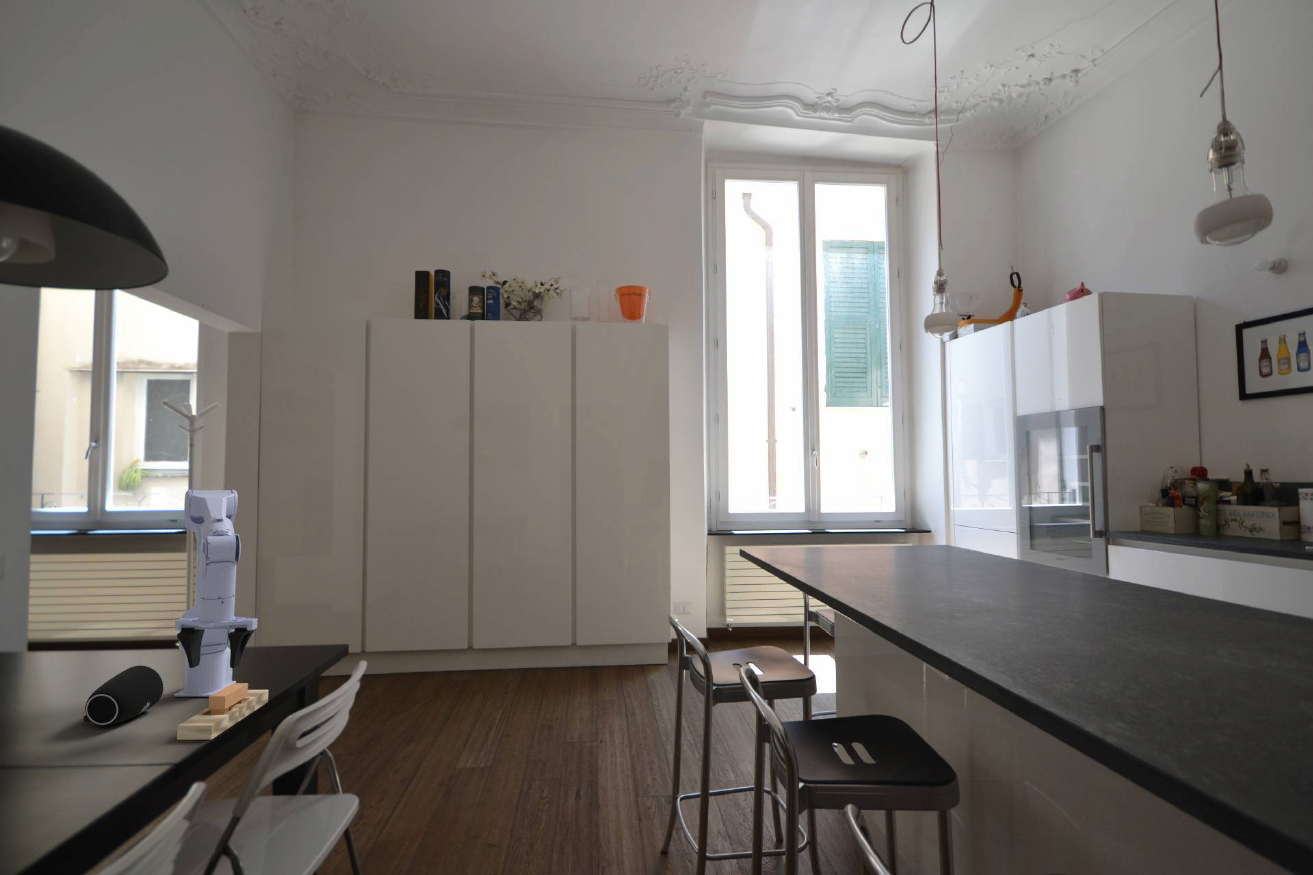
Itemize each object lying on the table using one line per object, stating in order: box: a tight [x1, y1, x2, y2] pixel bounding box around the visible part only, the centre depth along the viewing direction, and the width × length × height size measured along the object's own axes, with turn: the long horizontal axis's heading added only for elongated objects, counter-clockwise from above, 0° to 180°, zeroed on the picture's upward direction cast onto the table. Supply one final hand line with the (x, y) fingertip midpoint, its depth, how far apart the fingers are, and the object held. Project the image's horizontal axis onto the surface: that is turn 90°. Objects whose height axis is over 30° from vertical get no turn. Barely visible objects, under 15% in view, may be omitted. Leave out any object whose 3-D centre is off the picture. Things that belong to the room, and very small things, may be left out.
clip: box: [208, 682, 249, 715], centre depth 133 cm, size 8×3×6 cm, turn 4°
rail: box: [176, 689, 269, 741], centre depth 132 cm, size 20×6×2 cm, turn 4°
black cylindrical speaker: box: [82, 664, 164, 727], centre depth 131 cm, size 12×9×10 cm
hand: (214, 666), depth 134 cm, fingers open, 7 cm apart
